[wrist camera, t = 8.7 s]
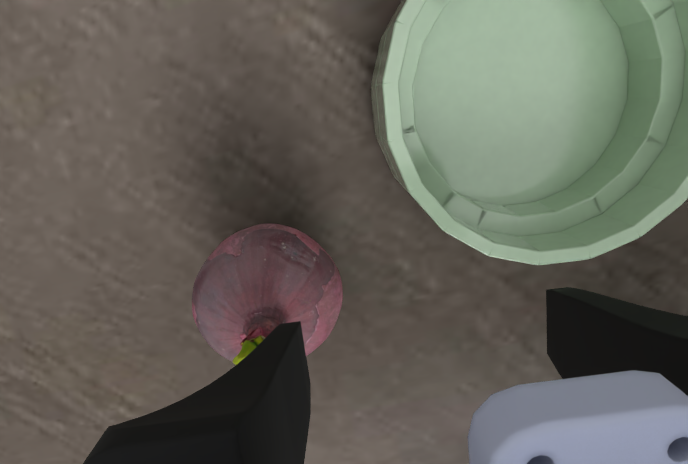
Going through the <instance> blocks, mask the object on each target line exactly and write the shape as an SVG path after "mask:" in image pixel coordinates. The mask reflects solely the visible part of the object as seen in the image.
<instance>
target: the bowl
mask: <svg viewBox="0 0 688 464" xmlns="http://www.w3.org/2000/svg"><path fill="white" fill-rule="evenodd" d="M371 87H372V88H371V97H372V108H373V118H374V129H375V134H376V138H377V140H378V143H379V145H380V147H381V150H382V152H383V154H384V157H385V159H386V161H387V164H388V166H389V168H390V171H391V173H392V175H393V177H394V178H395V179H396V180H397V181H398V182H399V183H400V185H401V186H402V187H403V188H404V189H405V190H406V191H407V192H408V193H409V195H410V196H411V197H412V198H413V199H414V200H415V201H416V202H417V204H418V205H419V206H420V207H421V208H422V209H423V210H424V211H425V212H426V213H427V214H428V215H429V217H430V218H431V219H432V220H433V221H434V222H435V223H436V224H437V225H438V226H439V227H440V228H441V229H442V230H443V231H444V232H445V233H447V234H449V235H451V236H452V237H454V238H456V239H458V240H460V241H461V242H463V243H465V244H467V245H469V246H470V247H472V248H474V249H476V250H478V251H479V252H481V253H483V254H485V255H488V256H489V257H495V258H500V259H505V260H511V261H516V262H521V263H527V264H532V265H546V264H554V263H562V262H571V261H579V260H587V259H591V258H594V257H596V256H598V255H601V254H603V253H606V252H608V251H610V250H613V249H615V248H617V247H620V246H622V245H624V244H627V243H629V242H631V241H634V240H636V239H638V238H639V237H642V236H643V235H644V234H645V233H647V232H648V231H649V230H650V229H652V228H653V227H654V226H655V225H657V224H658V223H659V222H661V221H662V220H663V219H664V218H666V217H667V216H668V215H669V214H671V213H672V212H673V211H674V210H676V209H677V208H678V207H679V206H681V205H682V204H683V202H685V201H686V200H687V198H688V0H402V1H401V2H400V4H399V6H398V8H397V10H396V11H395V13H394V15H393V17H392V19H391V21H390V22H389V24H388V26H387V28H386V30H385V32H384V33H383V35H382V38H381V40H380V44H379V49H378V54H377V59H376V64H375V68H374V73H373V78H372V83H371Z"/></svg>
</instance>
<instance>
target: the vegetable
mask: <svg viewBox="0 0 688 464" xmlns="http://www.w3.org/2000/svg"><path fill="white" fill-rule="evenodd" d="M342 299H343V289H342V281H341V277H340V274H339V270H338V268H337V267H336V265H335V263H334V261H333V260H332V258H331V257H330V256H329V255H328V253H327V252H326V251H325V250H324V249H323V248H322V247H321V246H320V245H319V244H318V243H317V242H316V241H314V240H313V239H312V238H310V237H309V236H308V235H306V234H305V233H303V232H301V231H299V230H297V229H295V228H292V227H289V226H285V225H280V224H271V223H265V224H258V225H255V226H251V227H248V228H246V229H243V230H240V231H238V232H236V233H234V234H233V235H231V236H229V237H228V238H226V239H225V240H224V241H222V242H221V243H220V244H219V246H218V247H217V248H216V249H215V250H214V251H213V252H212V254H211V255H210V256H209V257H208V258H207V260H206V261H205V263H204V264H203V266H202V267H201V269H200V271H199V273H198V275H197V277H196V279H195V283H194V287H193V295H192V311H193V317H194V320H195V323H196V325H197V327H198V329H199V331H200V333H201V334H202V336H203V337H204V339H205V340H206V341H207V343H208V344H209V345H210V346H211V347H212V348H213V349H214V350H215V351H216V352H217V353H219V354H220V355H221V356H223V357H224V358H226V359H228V360H230V361H232V362H233V363H234V364H236V365H237V364H238V363H239V362H240V361H242V360H243V359H244V358H245V357H246V356H247V355H248V354H250V353H251V352H252V351H253V350H254V349H255V348H256V347H257V346H258V345H259V344H260V343H261V342H262V341H263V340H264V339H265V338H266V337H267V336H268V335H269V334H270V333H271V332H272V331H273V330H274V329H275V328H276V327H277V326H278V325H279V324H283V323H291V322H298V321H301V328H302V334H303V340H304V347H305V353H306V356H307V355H308V354H310V353H311V352H312V351H314V350H315V349H316V348H317V347H318V346H320V345H321V344H322V343H323V342H324V340H325V339H326V338H327V337H328V335H329V334H330V333H331V331H332V329H333V328H334V325H335V323H336V321H337V318H338V315H339V312H340V309H341V306H342Z"/></svg>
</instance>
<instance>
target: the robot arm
mask: <svg viewBox="0 0 688 464" xmlns="http://www.w3.org/2000/svg"><path fill="white" fill-rule="evenodd" d="M546 303H547V354H548V355H549V357H550V359H551V361H552V362H553V364H554V366H555V368H556V369H557V371H558V372H559V374H560V375H561V377H562V379H560V380H552V381H544V382H537V383H529V384H521V385H516V386H513V387H511V388H508V389H505V390H502V391H500V392H497V393H494V394H492V395H491V396H490V397H489V398H488V399H487V400H486V401H485V402H484V403H483V404H482V405H481V406H480V407H479V408H478V409H477V410H476V411H475V412H474V413H473V417H472V421H471V425H470V429H469V434H468V449H469V464H688V316H683V315H678V314H673V313H669V312H665V311H661V310H656V309H652V308H648V307H644V306H640V305H636V304H633V303H629V302H626V301H622V300H618V299H615V298H611V297H608V296H604V295H601V294H597V293H593V292H589V291H585V290H581V289H576V288H569V287H566V288H558V289H550V290H546ZM309 421H310V378H309V372H308V366H307V359H306V353H305V347H304V340H303V334H302V328H301V321H298V322H291V323H283V324H279V325H278V326H277V327H276V328H275V329H274V330H273V331H272V332H271V333H270V334H269V335H268V336H267V337H266V338H265V339H264V340H263V341H262V342H261V343H260V344H259V345H258V346H257V347H256V348H255V349H254V350H253V351H252V352H251V353H250V354H248V355H247V356H246V357H245V358H244V359H243V360H242V361H240V362H239V363H238V364H237V365H236V366H235V367H233V368H232V369H231V370H230V371H228V372H227V373H226V374H224V375H223V376H221V377H220V378H218V379H217V380H215V381H214V382H213V383H211V384H209V385H208V386H206V387H204V388H203V389H201V390H199V391H197V392H195V393H193V394H192V395H190V396H188V397H186V398H184V399H182V400H180V401H178V402H176V403H174V404H172V405H170V406H167V407H165V408H163V409H160V410H158V411H155V412H153V413H150V414H147V415H145V416H142V417H139V418H136V419H132V420H129V421H126V422H123V423H120V424H117V425H113V426H110V427H108V428H107V430H106V431H105V432H104V434H103V435H102V437H101V438H100V440H99V441H98V442H97V444H96V445H95V447H94V448H93V450H92V451H91V453H90V454H89V456H88V457H87V458H86V460H85V461H84V463H83V464H304V458H305V451H306V443H307V436H308V428H309Z"/></svg>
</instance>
